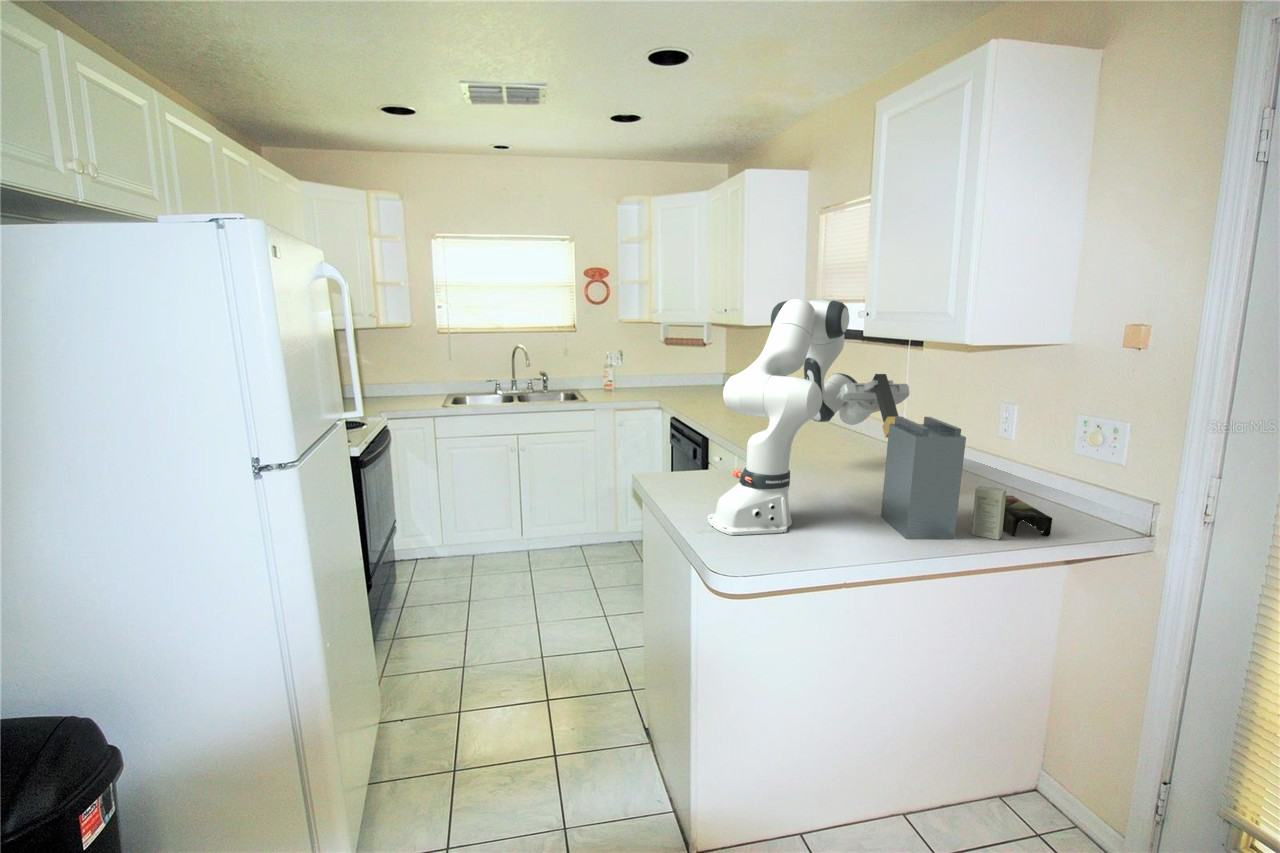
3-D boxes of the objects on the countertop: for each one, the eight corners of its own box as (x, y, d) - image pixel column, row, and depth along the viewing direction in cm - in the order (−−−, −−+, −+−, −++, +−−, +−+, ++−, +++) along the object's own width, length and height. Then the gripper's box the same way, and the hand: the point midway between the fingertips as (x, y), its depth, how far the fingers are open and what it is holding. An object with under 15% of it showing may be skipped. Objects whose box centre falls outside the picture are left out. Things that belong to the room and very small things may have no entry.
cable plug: (869, 380, 186) (874, 370, 182) (884, 380, 186) (889, 371, 182) (885, 437, 174) (890, 428, 170) (901, 437, 174) (907, 428, 170)
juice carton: (973, 511, 173) (976, 490, 172) (1009, 512, 173) (1012, 492, 172) (1011, 538, 154) (1014, 515, 152) (1051, 540, 153) (1055, 517, 152)
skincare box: (1002, 536, 154) (1008, 489, 152) (998, 540, 151) (1004, 493, 149) (974, 529, 158) (979, 484, 156) (969, 534, 155) (975, 488, 153)
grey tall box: (880, 516, 167) (890, 416, 162) (924, 517, 167) (935, 416, 162) (905, 538, 152) (917, 428, 146) (954, 539, 152) (967, 428, 146)
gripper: (833, 389, 196) (847, 372, 183) (896, 390, 196) (915, 373, 183) (834, 408, 194) (849, 391, 181) (899, 408, 194) (918, 392, 181)
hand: (883, 382), depth 182 cm, fingers closed on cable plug, 3 cm apart
